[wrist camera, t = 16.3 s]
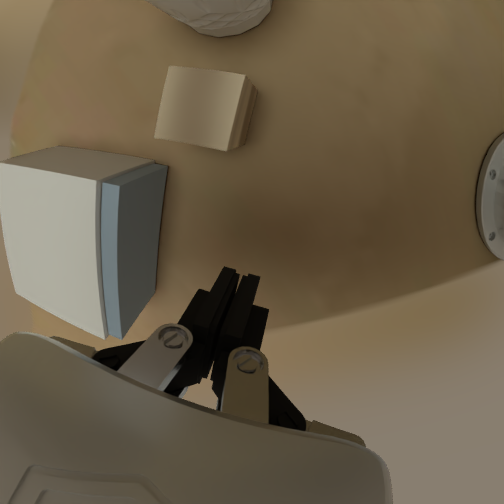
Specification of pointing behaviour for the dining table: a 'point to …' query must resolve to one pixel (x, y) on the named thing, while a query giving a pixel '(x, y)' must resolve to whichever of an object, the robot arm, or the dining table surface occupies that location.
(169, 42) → the dining table surface
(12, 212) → the housing
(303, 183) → the dining table surface
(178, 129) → the beige block
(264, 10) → the white cup
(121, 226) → the blue-grey open box
